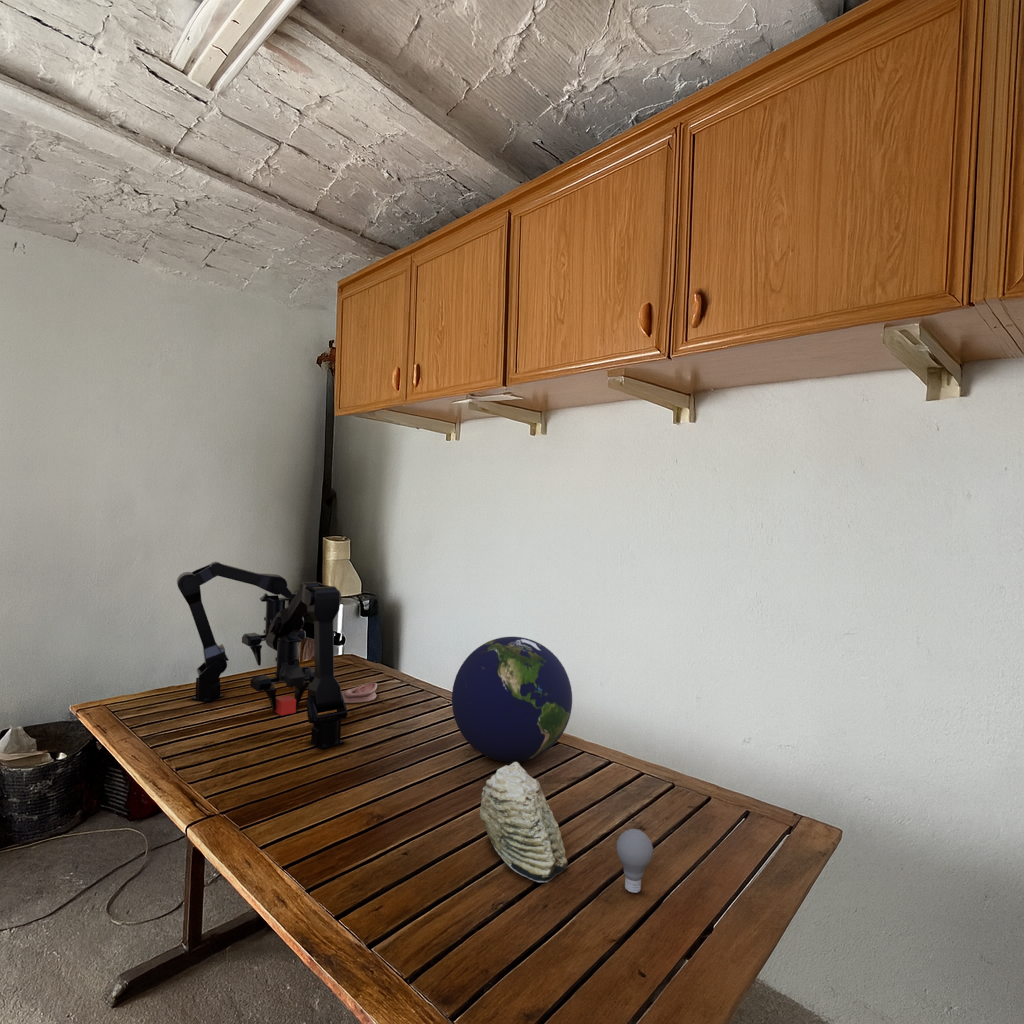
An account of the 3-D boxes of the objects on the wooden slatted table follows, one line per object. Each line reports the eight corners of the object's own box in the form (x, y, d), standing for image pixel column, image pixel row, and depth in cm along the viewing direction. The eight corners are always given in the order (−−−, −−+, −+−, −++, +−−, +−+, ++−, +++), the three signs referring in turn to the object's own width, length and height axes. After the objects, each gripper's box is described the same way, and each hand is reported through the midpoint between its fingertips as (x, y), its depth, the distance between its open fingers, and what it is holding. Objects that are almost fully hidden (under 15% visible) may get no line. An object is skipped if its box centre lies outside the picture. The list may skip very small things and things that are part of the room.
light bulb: (610, 879, 108) (613, 822, 108) (644, 879, 109) (647, 822, 109) (619, 902, 102) (622, 840, 102) (655, 901, 103) (658, 840, 103)
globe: (497, 727, 179) (502, 621, 178) (591, 755, 161) (596, 638, 161) (424, 759, 155) (429, 637, 154) (524, 797, 137) (530, 659, 137)
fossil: (501, 827, 124) (504, 751, 124) (575, 868, 111) (578, 784, 111) (467, 843, 118) (470, 763, 118) (541, 889, 105) (545, 799, 105)
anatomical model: (326, 688, 195) (343, 678, 206) (325, 700, 195) (343, 690, 206) (366, 692, 192) (381, 682, 203) (365, 705, 192) (381, 694, 203)
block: (281, 715, 181) (281, 701, 181) (274, 711, 184) (275, 697, 184) (295, 712, 184) (296, 699, 184) (288, 708, 187) (289, 695, 187)
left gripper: (256, 621, 190) (254, 673, 190) (314, 615, 203) (312, 664, 203) (241, 615, 198) (240, 665, 198) (298, 610, 211) (297, 657, 211)
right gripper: (264, 665, 171) (262, 723, 172) (329, 657, 183) (327, 710, 184) (250, 656, 180) (248, 711, 180) (314, 649, 192) (312, 700, 192)
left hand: (273, 663), depth 202 cm, fingers open, 9 cm apart
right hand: (285, 708), depth 184 cm, fingers open, 6 cm apart
